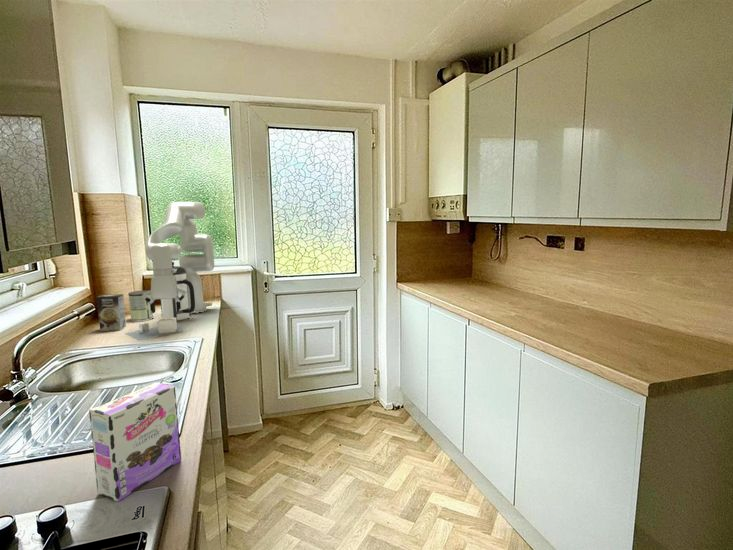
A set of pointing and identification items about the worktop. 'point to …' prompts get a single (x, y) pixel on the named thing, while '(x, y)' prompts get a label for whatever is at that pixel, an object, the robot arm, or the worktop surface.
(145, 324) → the pale grey block
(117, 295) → the coffee box
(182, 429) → the worktop surface
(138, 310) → the coffee can
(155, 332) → the base plate
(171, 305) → the coffee press
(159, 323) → the white striped cube
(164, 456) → the candy box
